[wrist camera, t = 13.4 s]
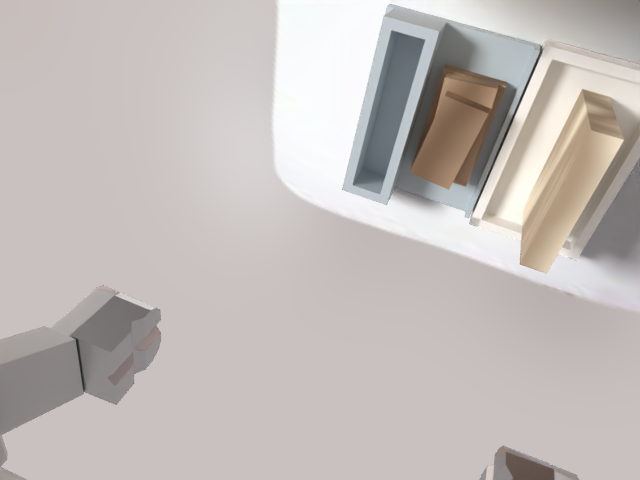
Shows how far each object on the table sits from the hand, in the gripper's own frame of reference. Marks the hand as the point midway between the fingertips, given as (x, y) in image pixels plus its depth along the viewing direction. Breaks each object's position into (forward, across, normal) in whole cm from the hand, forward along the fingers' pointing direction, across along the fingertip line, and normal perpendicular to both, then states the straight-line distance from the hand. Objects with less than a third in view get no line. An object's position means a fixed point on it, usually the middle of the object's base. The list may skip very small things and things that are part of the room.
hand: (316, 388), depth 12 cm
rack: (+37, +1, +7) cm, 37 cm away
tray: (+37, -10, +7) cm, 39 cm away
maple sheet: (+36, -10, +7) cm, 38 cm away
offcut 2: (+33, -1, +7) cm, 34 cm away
